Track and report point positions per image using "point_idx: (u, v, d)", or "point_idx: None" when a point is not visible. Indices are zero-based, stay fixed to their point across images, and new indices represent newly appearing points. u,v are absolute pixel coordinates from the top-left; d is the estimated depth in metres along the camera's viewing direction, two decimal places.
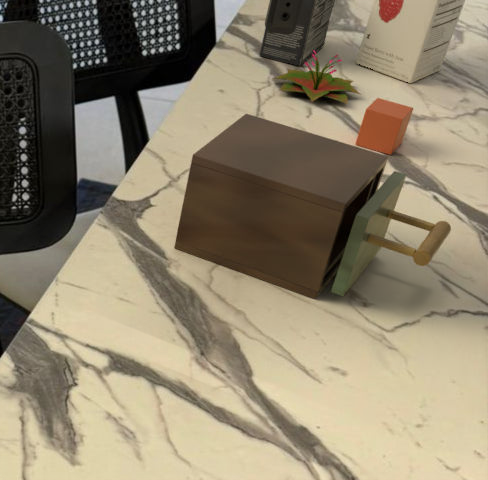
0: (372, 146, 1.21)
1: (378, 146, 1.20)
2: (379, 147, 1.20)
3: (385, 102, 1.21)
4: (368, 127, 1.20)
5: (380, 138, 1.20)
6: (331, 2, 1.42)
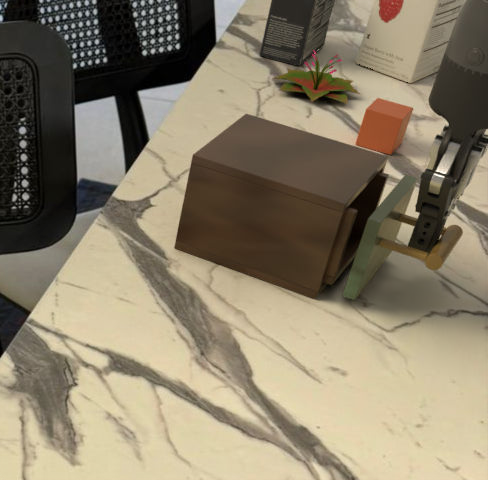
0: (372, 146, 1.21)
1: (378, 146, 1.20)
2: (379, 147, 1.20)
3: (385, 102, 1.21)
4: (368, 127, 1.20)
5: (380, 138, 1.20)
6: (331, 2, 1.42)
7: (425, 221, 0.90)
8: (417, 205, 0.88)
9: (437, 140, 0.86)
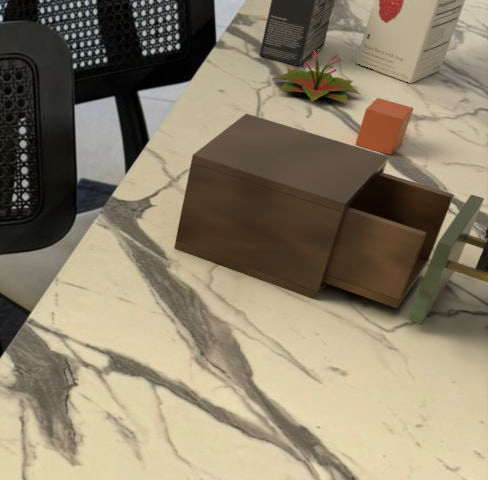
0: (372, 146, 1.21)
1: (378, 146, 1.20)
2: (379, 147, 1.20)
3: (385, 102, 1.21)
4: (368, 127, 1.20)
5: (380, 138, 1.20)
6: (331, 2, 1.42)
7: None
8: None
9: None
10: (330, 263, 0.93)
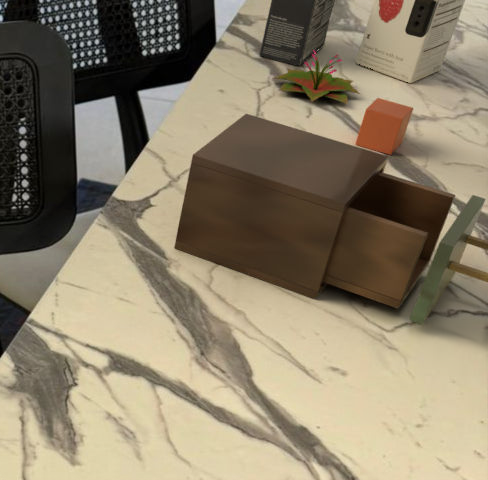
0: (372, 146, 1.21)
1: (378, 146, 1.20)
2: (379, 147, 1.20)
3: (385, 102, 1.21)
4: (368, 127, 1.20)
5: (380, 138, 1.20)
6: (331, 2, 1.42)
7: (420, 5, 1.09)
8: None
9: None
10: (332, 263, 0.93)
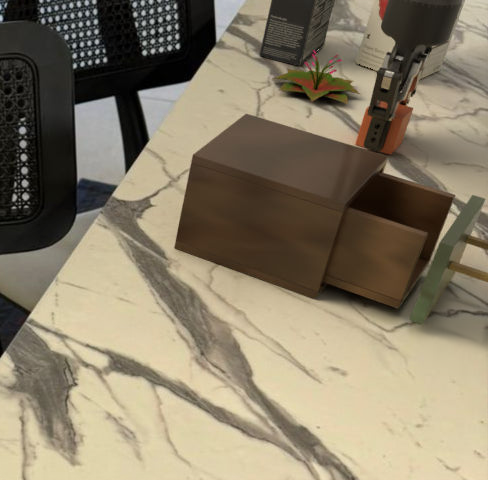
0: None
1: None
2: None
3: (385, 102, 1.21)
4: (368, 127, 1.20)
5: None
6: (331, 2, 1.42)
7: (376, 123, 1.18)
8: (370, 105, 1.15)
9: (389, 54, 1.15)
10: (332, 263, 0.93)
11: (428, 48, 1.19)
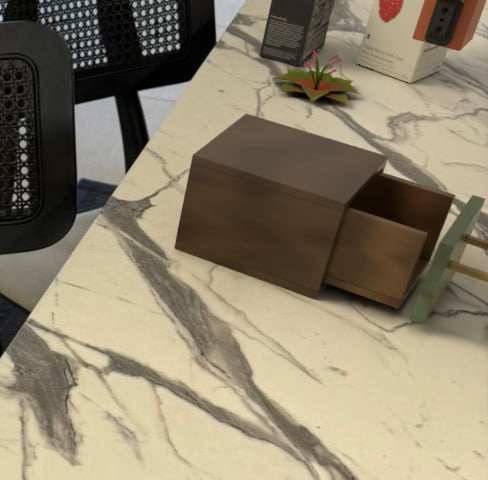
0: None
1: None
2: None
3: None
4: (430, 13, 0.91)
5: None
6: (331, 2, 1.42)
7: (443, 7, 0.89)
8: None
9: None
10: (332, 263, 0.93)
11: None
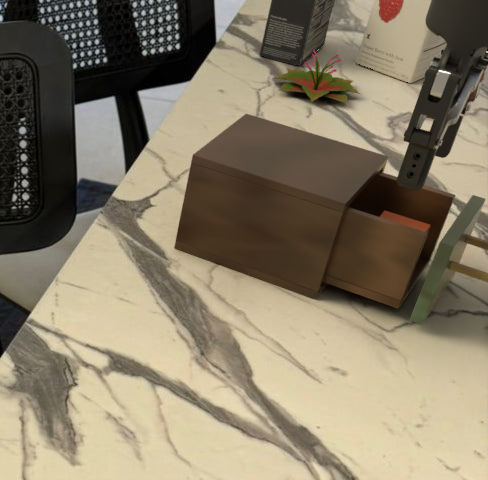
0: None
1: None
2: None
3: (395, 217, 0.94)
4: None
5: None
6: (331, 2, 1.42)
7: (415, 152, 0.84)
8: (410, 124, 0.81)
9: (437, 58, 0.83)
10: (332, 263, 0.93)
11: None
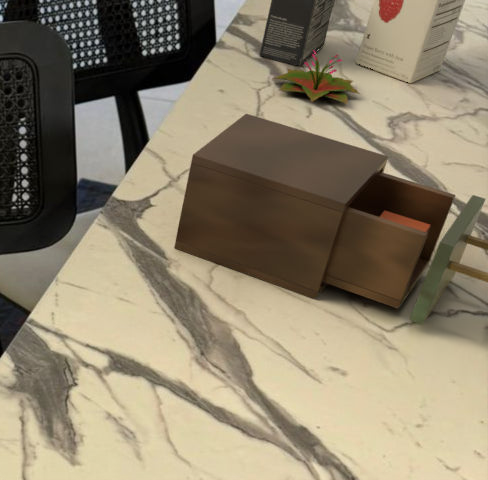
0: None
1: None
2: None
3: (395, 217, 0.94)
4: None
5: None
6: (331, 2, 1.42)
7: None
8: None
9: None
10: (332, 263, 0.93)
11: None
